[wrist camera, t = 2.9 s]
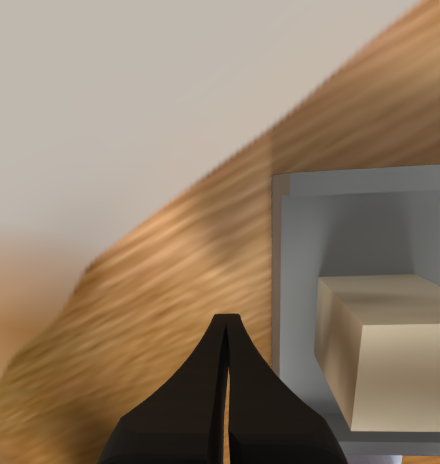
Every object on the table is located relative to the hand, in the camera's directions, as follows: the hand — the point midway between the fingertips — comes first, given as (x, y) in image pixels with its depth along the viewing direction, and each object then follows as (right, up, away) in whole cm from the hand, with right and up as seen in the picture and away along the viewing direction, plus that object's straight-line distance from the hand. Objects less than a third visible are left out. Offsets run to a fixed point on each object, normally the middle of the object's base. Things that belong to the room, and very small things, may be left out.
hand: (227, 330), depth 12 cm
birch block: (+8, +1, 0) cm, 8 cm away
